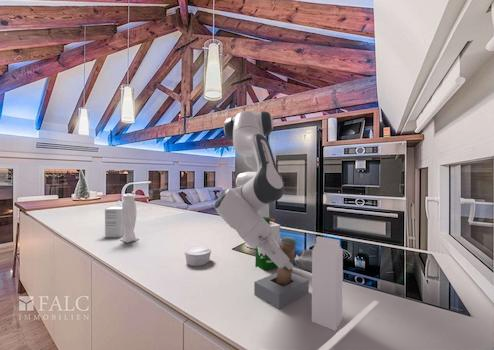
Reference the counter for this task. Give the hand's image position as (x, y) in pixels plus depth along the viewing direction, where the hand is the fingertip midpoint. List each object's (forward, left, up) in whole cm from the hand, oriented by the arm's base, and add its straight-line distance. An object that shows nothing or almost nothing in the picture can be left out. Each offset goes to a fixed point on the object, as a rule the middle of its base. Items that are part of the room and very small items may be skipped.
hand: (288, 263), depth 73 cm
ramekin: (+8, -43, -11) cm, 45 cm away
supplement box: (+25, -113, -11) cm, 116 cm away
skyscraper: (+22, -95, -11) cm, 98 cm away
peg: (+2, -1, -9) cm, 9 cm away
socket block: (+2, -1, -10) cm, 11 cm away
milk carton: (-10, -19, -11) cm, 24 cm away
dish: (-26, -8, -11) cm, 30 cm away
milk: (+3, +15, -11) cm, 18 cm away
